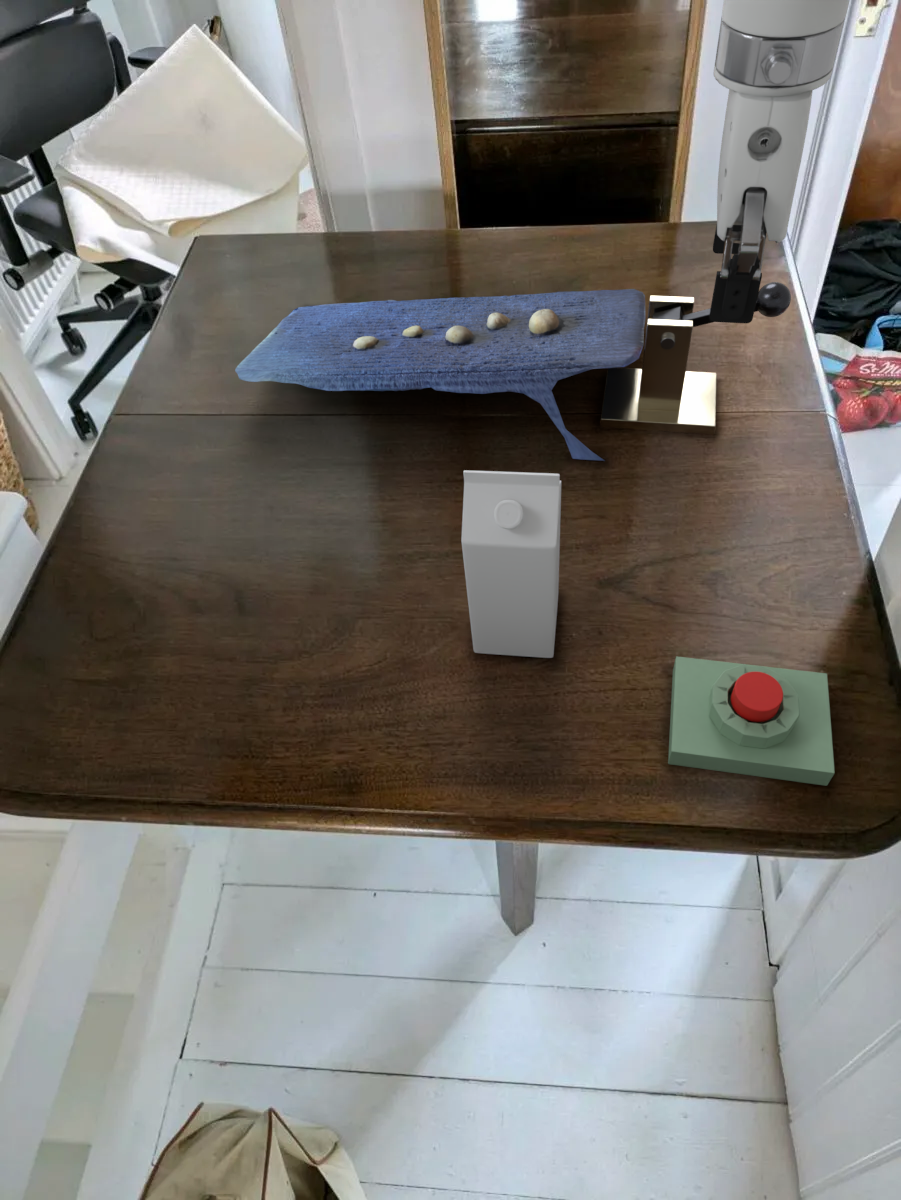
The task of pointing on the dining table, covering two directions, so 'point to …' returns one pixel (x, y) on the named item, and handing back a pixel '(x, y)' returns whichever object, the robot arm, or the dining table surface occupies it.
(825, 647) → the dining table surface
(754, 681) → the power button
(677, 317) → the lever switch
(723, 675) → the green push button box
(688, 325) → the metal lever base
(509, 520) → the milk carton
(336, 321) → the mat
